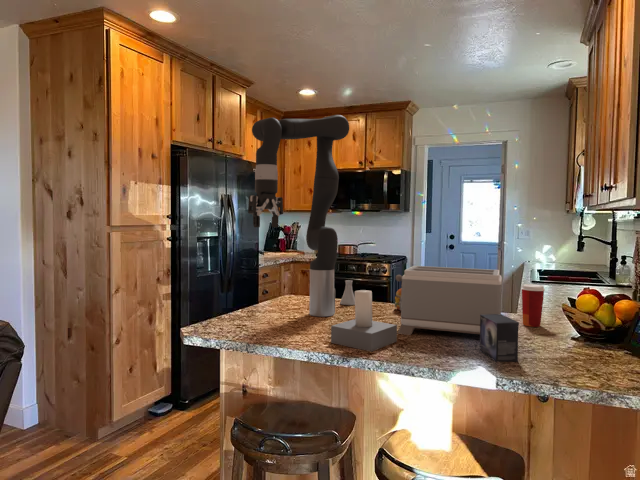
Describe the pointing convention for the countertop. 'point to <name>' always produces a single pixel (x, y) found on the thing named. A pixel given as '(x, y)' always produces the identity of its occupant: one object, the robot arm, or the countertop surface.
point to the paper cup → (532, 304)
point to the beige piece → (363, 308)
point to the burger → (398, 299)
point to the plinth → (364, 335)
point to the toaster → (448, 298)
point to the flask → (348, 294)
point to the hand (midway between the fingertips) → (266, 227)
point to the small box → (499, 337)
